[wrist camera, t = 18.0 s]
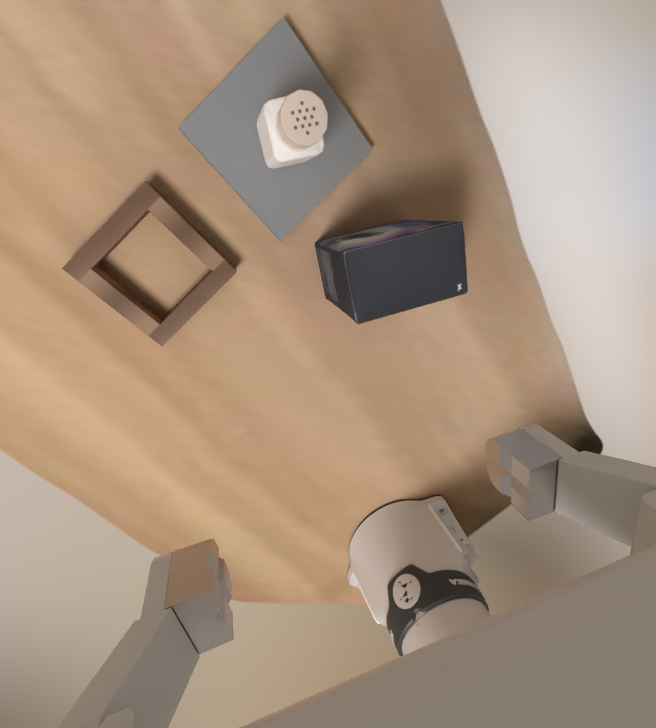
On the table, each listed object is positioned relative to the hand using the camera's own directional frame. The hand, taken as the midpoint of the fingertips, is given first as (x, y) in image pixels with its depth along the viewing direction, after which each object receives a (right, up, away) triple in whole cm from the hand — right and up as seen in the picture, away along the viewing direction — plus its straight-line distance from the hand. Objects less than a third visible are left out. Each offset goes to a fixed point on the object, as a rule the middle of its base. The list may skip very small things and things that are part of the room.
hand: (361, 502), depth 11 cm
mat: (-5, +24, +24) cm, 34 cm away
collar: (-17, +13, +25) cm, 32 cm away
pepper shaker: (-5, +23, +23) cm, 33 cm away
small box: (+3, +15, +30) cm, 34 cm away
